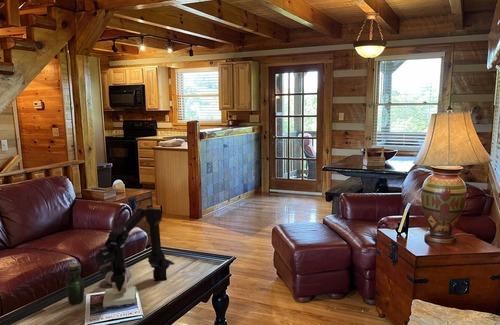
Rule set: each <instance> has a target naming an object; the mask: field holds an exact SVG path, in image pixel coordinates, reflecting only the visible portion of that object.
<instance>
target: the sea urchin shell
mask: <svg viewBox="0 0 500 325" xmlns="http://www.w3.org/2000/svg"><path fill="white" fill-rule="evenodd" d="M125 269H126V273H125V276H126V282H128V281H130V279H131V278H132V273H131V271H130V269H128V268H127V267H126V268H125ZM112 274H113V273H111V271H110V272H108V273H106V274H105V276H104V281H105V282H106V283H107V284H108V285H111V286H112V282H111V275H112Z"/></svg>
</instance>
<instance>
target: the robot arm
mask: <svg viewBox="0 0 500 325" xmlns="http://www.w3.org/2000/svg"><path fill="white" fill-rule="evenodd" d="M162 216H163V213H162V210H161V209H160V208H155V207H148V208H147V209H146V208H143V207H142V208H141V207H138V208H137V209H136V210H135V211H134V213H132V215H131V216H130V217H129V218H128V219H126V221H125V222H124V223H123V224H121V225H120V226H117V227H116V228H114V229H113V230H111V231H110V233H109V234H108V237H107V238H106V241H105V243H104V245H103V247H102V248H99V249H98V252H97V253H96V256H95V259H96V262H97V263H98V264H99V265H100V266H99V269H98V270H99V273H100V274H101V276H106V274H107V273H108V272H110V271H111V273H113V274H112V275H111V282H115V283H116V286H117V289H118V292H120V291H121V289H122V286H123V284H124V281H125V273H126V269H125V268H127V262H125V260H126V257H125V247H128V246H129V245H128V243H126V241H127V240H128V238H129V236H130V233H131V231H132V230H133V229H134V228H135V227H136V226H137V225H138V224H140V222H141V221H142V220H143V219H144V218H145V220H146V222H147V224H148V226H149V235H150V247H151V251H150V253H149V254H148V255H147V262H148V263H149V264H148V265H150V267H151V268H153V269H152V274H153V276H152V277H153V278H152V279H154V280H153V281H154V282H159V281H160V282H161V281H167V279H168V277H167V269H168V268H169V269H170V263H168V262H167V261H166V260H165V259H166V257H165V256H166V255H165V254H164V252H163V250H162V246H161V245H162V244H161V243H162V242H161V230H160V223H161V221H162V219H163V218H162Z"/></svg>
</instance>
